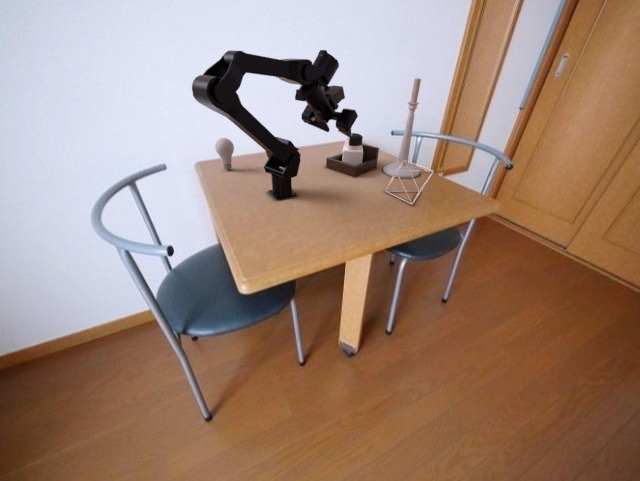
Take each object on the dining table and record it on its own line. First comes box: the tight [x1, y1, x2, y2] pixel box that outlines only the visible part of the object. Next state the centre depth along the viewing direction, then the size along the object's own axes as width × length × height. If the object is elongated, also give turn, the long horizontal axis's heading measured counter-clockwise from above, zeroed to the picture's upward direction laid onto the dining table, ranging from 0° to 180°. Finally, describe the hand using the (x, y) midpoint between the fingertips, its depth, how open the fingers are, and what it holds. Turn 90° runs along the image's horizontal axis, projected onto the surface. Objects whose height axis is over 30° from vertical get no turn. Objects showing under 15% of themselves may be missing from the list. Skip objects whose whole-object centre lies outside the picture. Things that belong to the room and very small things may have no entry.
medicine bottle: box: [342, 132, 364, 165], centre depth 103 cm, size 7×7×12 cm
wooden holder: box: [325, 143, 380, 178], centre depth 105 cm, size 13×13×8 cm
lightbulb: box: [214, 137, 235, 171], centre depth 99 cm, size 6×6×11 cm
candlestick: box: [382, 78, 422, 179], centre depth 96 cm, size 13×13×30 cm
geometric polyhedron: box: [385, 160, 435, 205], centre depth 84 cm, size 12×11×9 cm
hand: (339, 133), depth 94 cm, fingers open, 9 cm apart
